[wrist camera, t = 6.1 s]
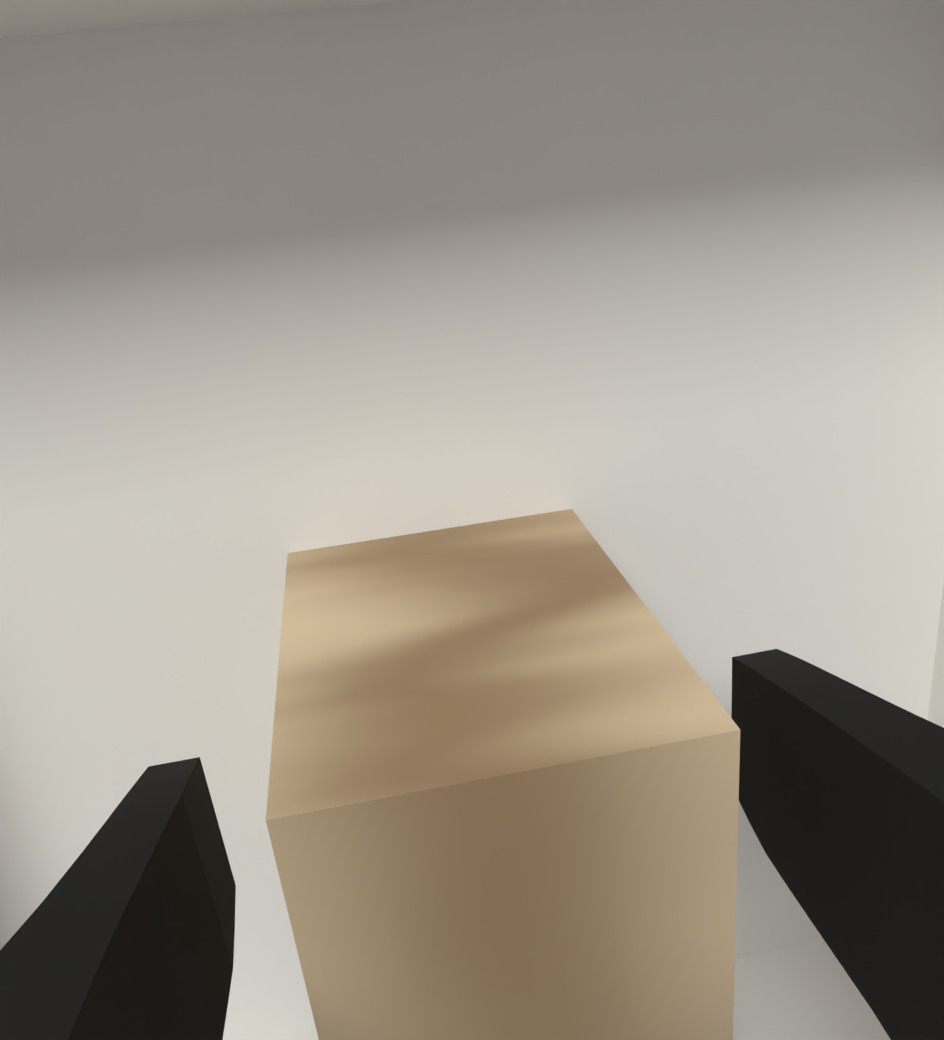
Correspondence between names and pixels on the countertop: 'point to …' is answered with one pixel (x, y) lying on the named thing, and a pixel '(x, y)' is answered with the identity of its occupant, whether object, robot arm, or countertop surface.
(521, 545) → the maple block
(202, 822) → the robot arm
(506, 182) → the bin
